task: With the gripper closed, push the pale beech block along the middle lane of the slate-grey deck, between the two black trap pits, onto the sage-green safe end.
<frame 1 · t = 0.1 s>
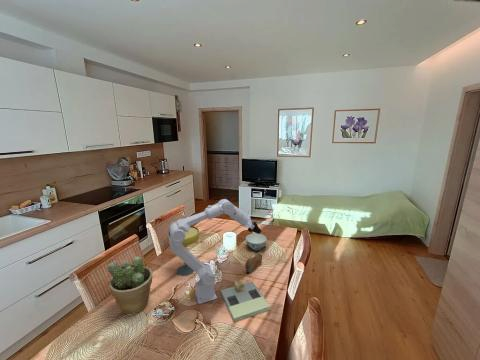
hand: (256, 229, 116), 32 cm above the table, tool tilted 50°, fingers open, 7 cm apart
beech block: (239, 289, 114), point 2 cm above the table, touching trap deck
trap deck: (244, 301, 109), on the table
potted plant: (135, 305, 106), on the table
chinaware: (256, 248, 158), on the table
cocktail glass: (185, 270, 133), on the table
brown rounded slab: (253, 268, 135), on the table
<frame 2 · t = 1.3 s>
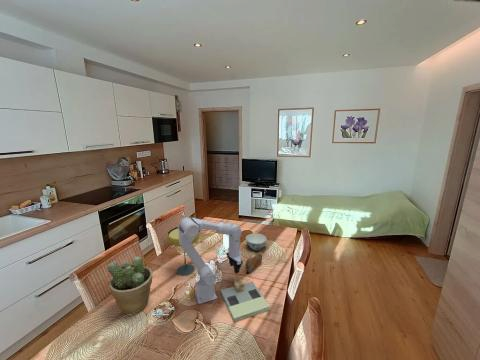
hand: (234, 269, 119), 9 cm above the table, tool pointing down, fingers open, 6 cm apart
nothing on the table moved.
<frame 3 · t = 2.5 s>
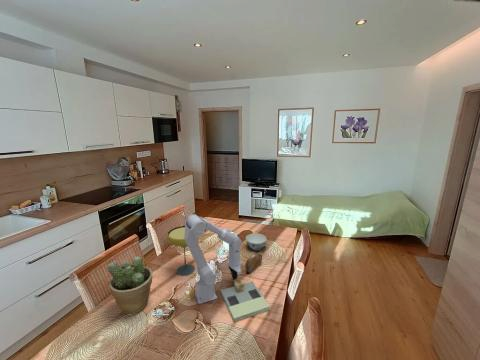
hand: (234, 278, 120), 3 cm above the table, tool pointing down, fingers closed
nothing on the table moved.
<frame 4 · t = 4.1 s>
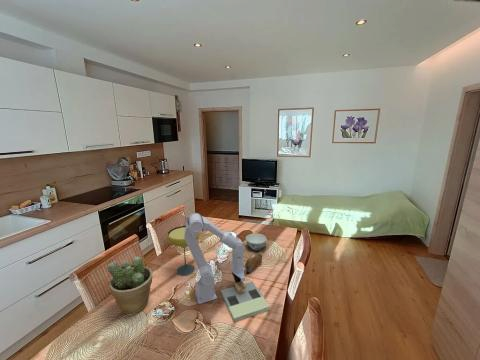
hand: (237, 285, 116), 3 cm above the table, tool pointing down, fingers closed
beech block: (240, 291, 113), point 2 cm above the table, touching gripper, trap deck
everything else where it was.
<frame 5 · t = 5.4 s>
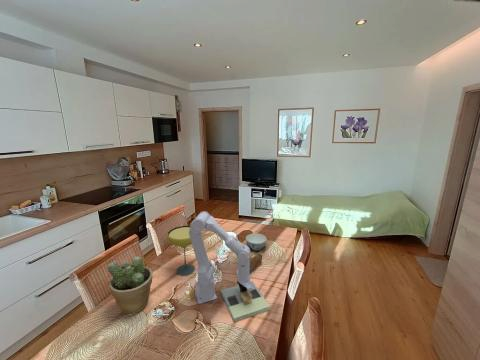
hand: (243, 294, 109), 3 cm above the table, tool pointing down, fingers closed
beech block: (246, 301, 106), point 2 cm above the table, touching gripper
everything else where it was.
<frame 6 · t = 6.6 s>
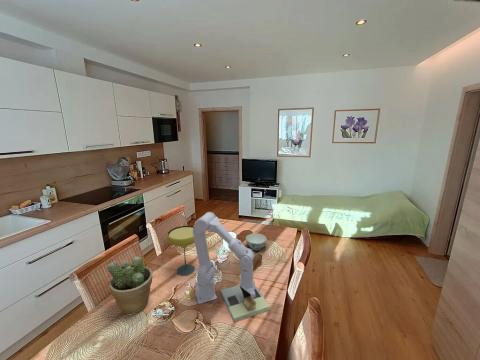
hand: (246, 300, 105), 3 cm above the table, tool pointing down, fingers closed
beech block: (249, 307, 103), point 2 cm above the table, touching gripper, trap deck
everything else where it was.
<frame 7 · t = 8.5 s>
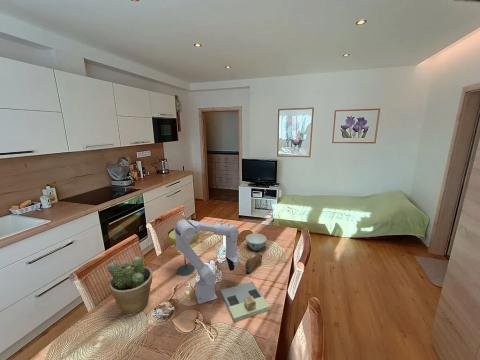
hand: (231, 269, 118), 9 cm above the table, tool pointing down, fingers closed
beech block: (249, 307, 102), point 2 cm above the table, touching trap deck
everything else where it was.
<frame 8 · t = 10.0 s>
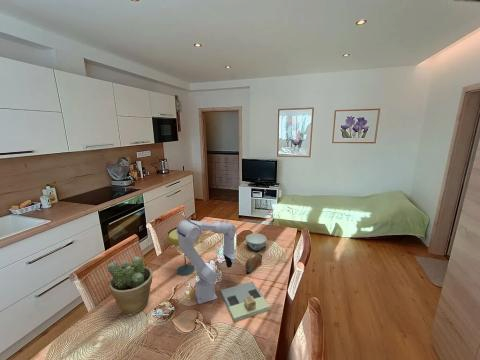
hand: (229, 266, 121), 9 cm above the table, tool pointing down, fingers closed
nothing on the table moved.
at the end: beech block 0.4 cm from the target spot on the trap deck, point 2.0 cm above the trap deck's base; beech block tilted 0°; beech block moved 12.9 cm from its start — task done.
